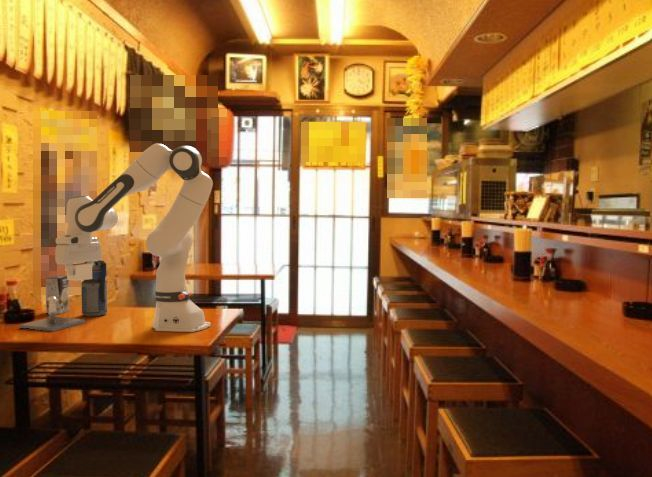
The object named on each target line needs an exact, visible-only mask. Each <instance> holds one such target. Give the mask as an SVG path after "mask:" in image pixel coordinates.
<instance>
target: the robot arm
mask: <svg viewBox="0 0 652 477" xmlns="http://www.w3.org/2000/svg"><path fill="white" fill-rule="evenodd" d="M203 160H204V159H203V156H202V153H201V152H200V151H199V149H197V148H195V147H193V146H190V145H181V146H178V147H176V148H174V149H171V148H169V147H168V146H166V145H164V144H162V143H158V142H157V143H153V144H152V145H150V146H149V147H147V148H146V149H145V150H144V151H142V152H141V153H140V154H139V155H138V156H137V157H136V158H135V159H134V161H133V162H131V164H130V165H128V166H127V168H126V169H125V170H124V171H123V172H122V173H121V174H119V176H118V177H117V178H116V179H115V180H114V181H112V182H111V183H110V184H109V185H108V186H106V188H104V190H103V191H101V192H100V194H98V195H97V196H95V198H94V199H92V198H91V197H90V196H88V195H86V196H85V195H81V196H74V197H71V198H69V200H68V201H67V203H66V213H65V214H66V222H67V226H66V227H67V228H66V233H65V234H63V235H61V236H58V237H56V238H55V244H56V246H55V250H54V260H55V263H56V264H57V265H64V266H65V269H66V271H67V270H68V275H70V276H72V275H75V271H73V269H72V267H71V266H73V264H78V263H84V262H87V263H88V264H92V267H93V265H94V261H98V260H102V258H103V251H102V245H101V240H100V239H99V238H98V237H93V232H97V231H106V230H109V229H112V228H114V227H115V226H116V225H117V223H118V213H117V211H116V209H114V207H115V206H116V205H117V204H118V203H119V202H120V201H121V200H122V199H123V198H125V197H127V196H129V195H131V194H134V193H139V192H140V193H141V192H143V191H146V190H148V189H150V188H151V187H152V186H154V185H155V184H156V183H157V182H158V181H160V179H161V177H162V176H163V175H165V174H166V173H167V172H168V171H169V170H173V171H174V173H175V174H177V176H179V178H181V179H182V180H183V183H182V186H181V188H180V190H179V192H178V194H177V196H176V197H175V200H174V202H173V203H172V205H171V207H170V209H169V211H168V212H167V213H166V215H165V216H164V218H163V219H162V220H161V221H160V223H159V224H158V225H157V227H156V228H154V230H152V231H151V233H149V234H148V236H147V237H146V240H145V246H146V248H147V250H148V252H149V253H150V254H151V255H153V256H155V257H160V262H159V265H158V267H157V268H156V271H155V272H156V273H155V274H156V276H155V277H156V279H155V282H156V284H155V285H156V286H155V288H156V290H155V292H154V294H155V296H154V299H155V300H154V301H155V313H154V319H153V324H152V328H153V329H154V331H155V332H176V333H177V332H180V333H184V332H185V333H193V332H194V333H195V332H199V331H202V330H205V329H207V328H210V327H211V324H212V323H211V322H210V321H206V320H205V313H204V311H203V309H202V308H200V307H199V306H198V305H196V303H194V302H193V301H192V300H191V298H190V296H191V295H192V291H191V292H188V291H187V289H186V269H187V263H188V259H189V253H190V250H191V248H192V246H193V244H194V243H193V242H194V240H193V236H192V234H191V233H190V230H191V229H192V228H193V227H194V226H195V225H196V223H198V220H199V218H200V217H201V214H202V213H203V210H204V209H205V207H206V205H207V203H208V200H209V198H210V196H211V192H212V189H213V187H214V186H213V185H214V182H213V179H212V178H211V176H210V175H208V173H205V172H204V171H203V170H202V167H203Z"/></svg>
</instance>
